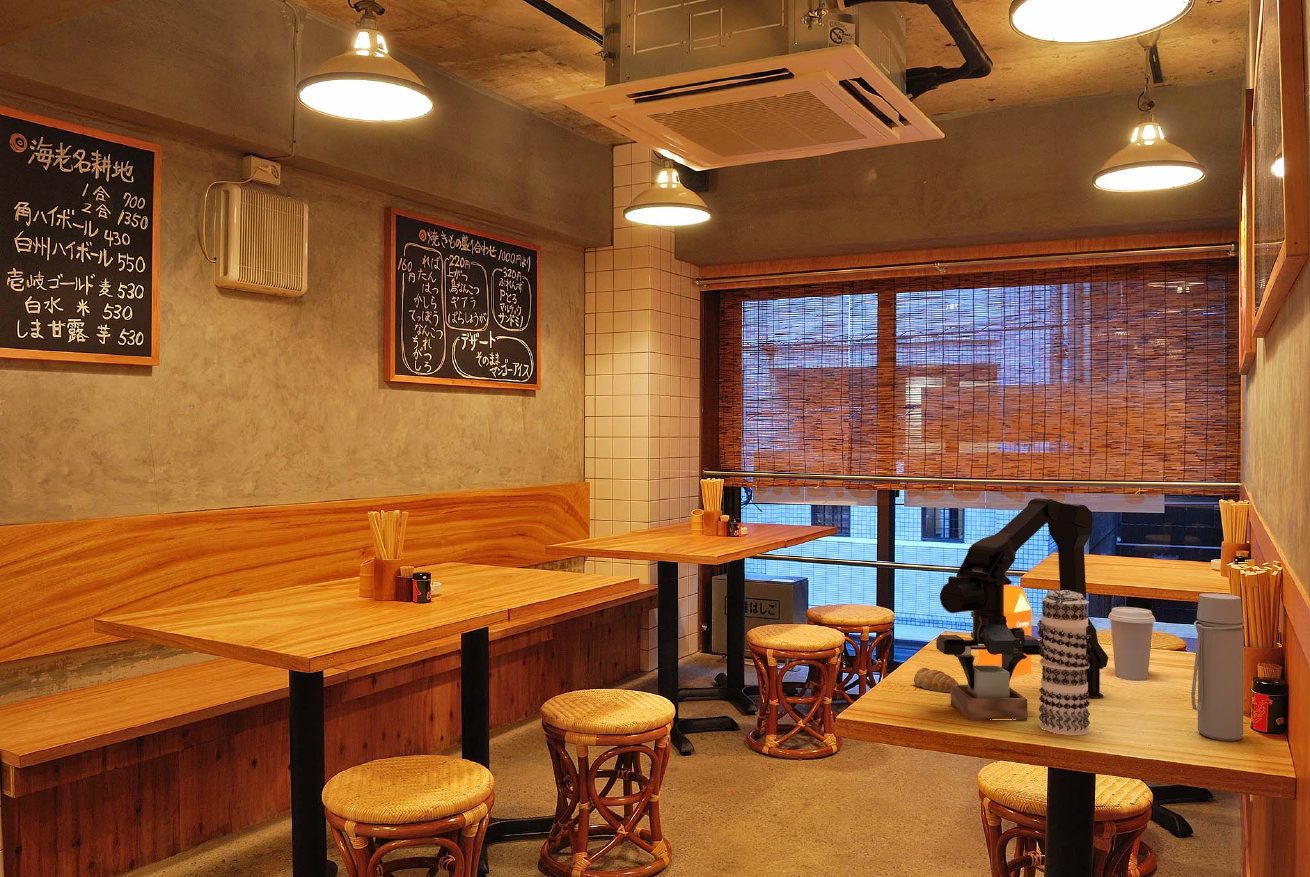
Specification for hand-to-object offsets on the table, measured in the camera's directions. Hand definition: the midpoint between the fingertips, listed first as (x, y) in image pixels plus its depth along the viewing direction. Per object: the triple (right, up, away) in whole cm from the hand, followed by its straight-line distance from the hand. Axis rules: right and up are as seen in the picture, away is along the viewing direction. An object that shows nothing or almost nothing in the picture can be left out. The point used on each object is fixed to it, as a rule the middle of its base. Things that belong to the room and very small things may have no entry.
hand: (988, 689), depth 188 cm
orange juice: (+15, -5, +33) cm, 37 cm away
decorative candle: (+10, -5, -10) cm, 15 cm away
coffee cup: (+42, -5, +29) cm, 52 cm away
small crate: (0, -1, 0) cm, 1 cm away
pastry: (-5, -5, +19) cm, 20 cm away
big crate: (0, -5, 0) cm, 5 cm away
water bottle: (+36, -5, -15) cm, 39 cm away
